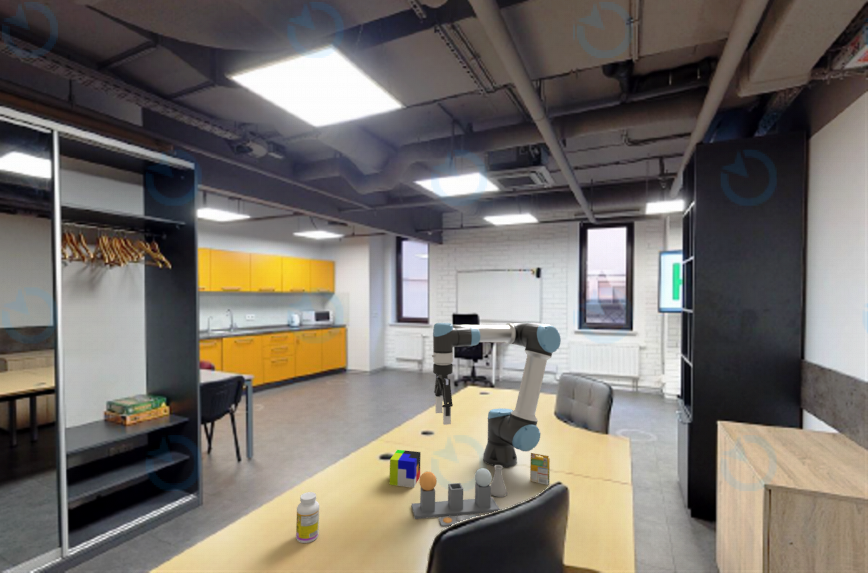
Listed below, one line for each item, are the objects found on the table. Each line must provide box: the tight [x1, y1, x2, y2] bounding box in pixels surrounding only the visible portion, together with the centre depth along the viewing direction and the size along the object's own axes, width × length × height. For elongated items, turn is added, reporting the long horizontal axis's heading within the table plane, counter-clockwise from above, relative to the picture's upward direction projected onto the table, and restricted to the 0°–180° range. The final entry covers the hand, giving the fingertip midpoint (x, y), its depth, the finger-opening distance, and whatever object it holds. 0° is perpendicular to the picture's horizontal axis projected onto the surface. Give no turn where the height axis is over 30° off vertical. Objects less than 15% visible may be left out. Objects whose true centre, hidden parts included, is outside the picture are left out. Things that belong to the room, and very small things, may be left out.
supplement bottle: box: [295, 491, 320, 544], centre depth 124 cm, size 7×7×13 cm
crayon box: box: [529, 452, 551, 486], centre depth 163 cm, size 7×3×12 cm, turn 65°
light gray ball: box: [474, 467, 493, 487], centre depth 143 cm, size 6×6×6 cm
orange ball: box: [418, 471, 437, 491], centre depth 140 cm, size 6×6×6 cm
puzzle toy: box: [388, 449, 421, 489], centre depth 162 cm, size 10×10×10 cm
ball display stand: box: [411, 481, 501, 520], centre depth 142 cm, size 30×8×8 cm, turn 101°
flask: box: [490, 465, 508, 498], centre depth 154 cm, size 7×7×10 cm
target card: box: [438, 514, 481, 528], centre depth 134 cm, size 14×4×1 cm, turn 101°
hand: (442, 418), depth 155 cm, fingers open, 13 cm apart
